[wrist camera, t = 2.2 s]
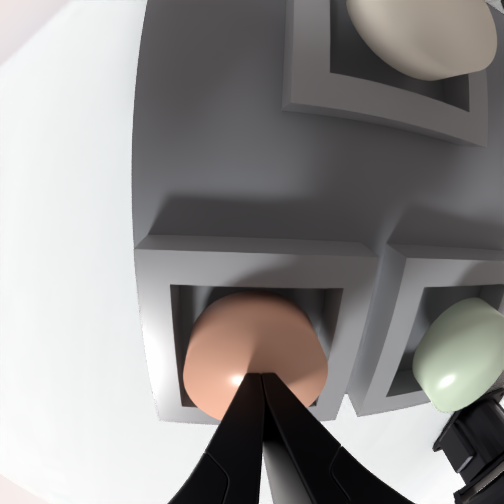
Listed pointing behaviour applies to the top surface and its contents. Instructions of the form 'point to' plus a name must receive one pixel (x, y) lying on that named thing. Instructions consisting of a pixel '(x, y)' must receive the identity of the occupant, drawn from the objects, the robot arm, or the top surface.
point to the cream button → (427, 35)
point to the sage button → (460, 354)
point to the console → (309, 190)
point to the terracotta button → (252, 349)
